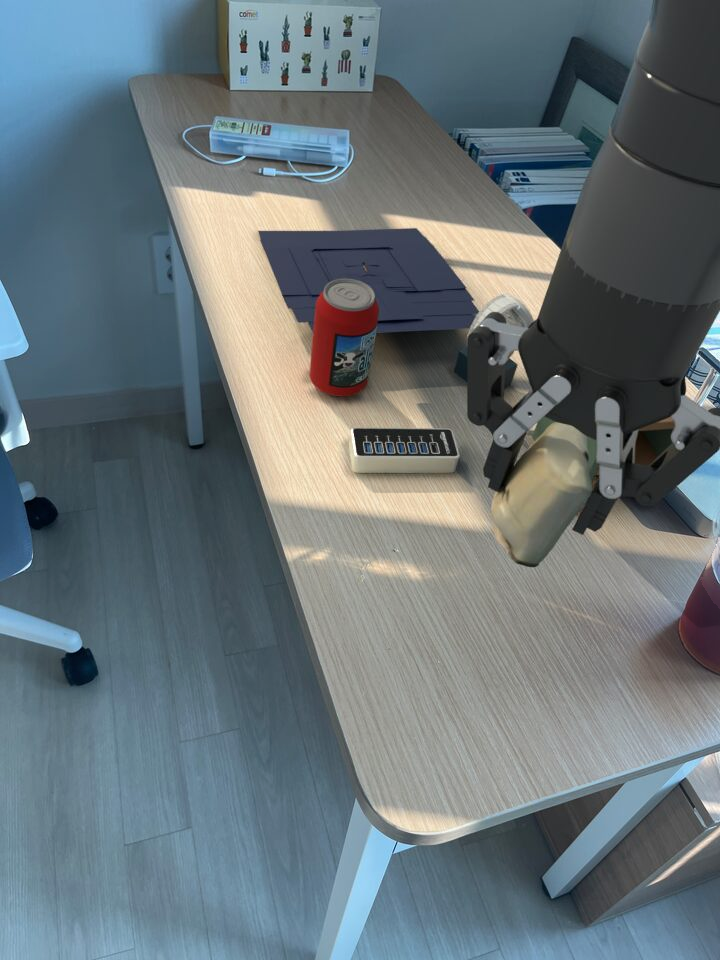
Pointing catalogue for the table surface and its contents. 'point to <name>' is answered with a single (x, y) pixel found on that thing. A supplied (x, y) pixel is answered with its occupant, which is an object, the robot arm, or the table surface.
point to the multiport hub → (403, 450)
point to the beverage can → (343, 337)
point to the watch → (513, 314)
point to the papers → (371, 275)
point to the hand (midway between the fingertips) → (540, 502)
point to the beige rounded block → (542, 494)
